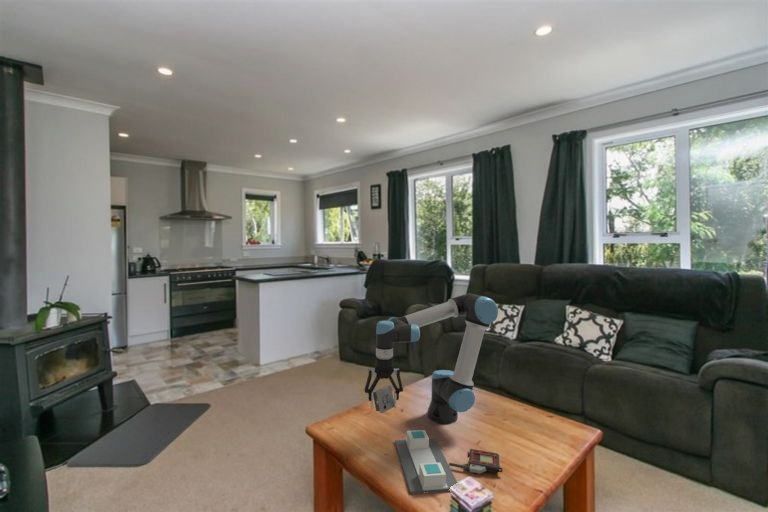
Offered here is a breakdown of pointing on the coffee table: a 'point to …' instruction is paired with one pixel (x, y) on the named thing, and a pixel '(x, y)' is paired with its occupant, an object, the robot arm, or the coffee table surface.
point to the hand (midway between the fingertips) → (383, 407)
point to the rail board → (412, 470)
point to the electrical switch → (383, 399)
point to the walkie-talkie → (481, 462)
